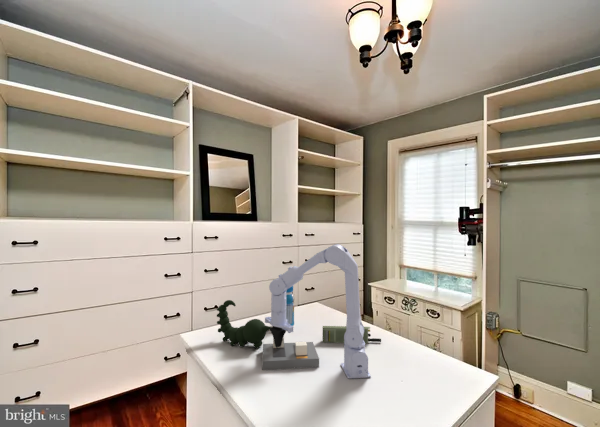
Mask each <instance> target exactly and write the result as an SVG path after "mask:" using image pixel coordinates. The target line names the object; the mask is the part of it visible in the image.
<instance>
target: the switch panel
mask: <svg viewBox="0 0 600 427" xmlns="http://www.w3.org/2000/svg"><path fill="white" fill-rule="evenodd" d="M305 342H306V343H307V355H297V356H296V353H295V342H284V347H283V348H273V343H262V358H261V359H262V362H261V363H262V366H261V370H262V371H271V370H272V371H273V370H274V371H275V370H290V369H291V370H292V369H293V370H294V369H306V368H307V369H309V368H320V357H319V355H318V352H317V348H316V347H315V344H314V341H305Z"/></svg>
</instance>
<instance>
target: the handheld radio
mask: <svg viewBox="0 0 600 427" xmlns="http://www.w3.org/2000/svg"><path fill="white" fill-rule="evenodd" d="M345 332H346V326H345V325H343V326H342V325H322V343H327V344H328V343H332V344H334V343H335V344H344V341H345V340H344V335H345ZM369 332H371V327H370V326H364V334H363V340H364V342H365V344H369V342H372V343H373V342H375V343H376V342H377V343H381V342H382V338H369V337H371V336H372V335H371V333H369Z"/></svg>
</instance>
